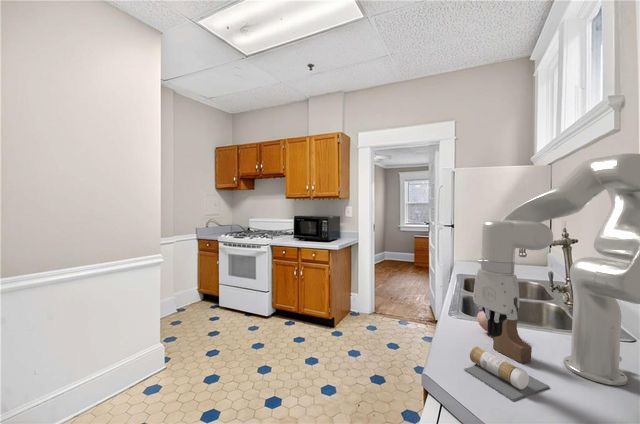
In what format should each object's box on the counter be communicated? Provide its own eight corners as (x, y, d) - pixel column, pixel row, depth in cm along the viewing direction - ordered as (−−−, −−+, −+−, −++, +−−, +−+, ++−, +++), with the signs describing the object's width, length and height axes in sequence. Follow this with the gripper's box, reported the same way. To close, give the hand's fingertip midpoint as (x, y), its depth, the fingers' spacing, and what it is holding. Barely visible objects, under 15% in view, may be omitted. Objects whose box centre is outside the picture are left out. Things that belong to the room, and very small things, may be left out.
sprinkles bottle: (478, 361, 81) (528, 389, 69) (467, 361, 79) (516, 391, 67) (480, 345, 81) (531, 370, 69) (470, 345, 80) (519, 371, 67)
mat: (498, 360, 82) (498, 359, 82) (549, 387, 70) (549, 386, 70) (464, 370, 77) (464, 368, 77) (512, 401, 65) (512, 399, 65)
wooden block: (531, 361, 82) (534, 300, 82) (521, 364, 80) (523, 302, 80) (502, 346, 90) (504, 291, 90) (492, 349, 89) (494, 292, 89)
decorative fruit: (481, 337, 97) (482, 309, 97) (474, 327, 105) (475, 301, 104) (512, 341, 95) (513, 312, 94) (502, 331, 103) (503, 304, 102)
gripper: (463, 262, 80) (460, 325, 80) (516, 274, 66) (513, 351, 67) (481, 261, 83) (479, 322, 83) (536, 272, 69) (533, 345, 69)
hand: (494, 334), depth 75 cm, fingers closed
